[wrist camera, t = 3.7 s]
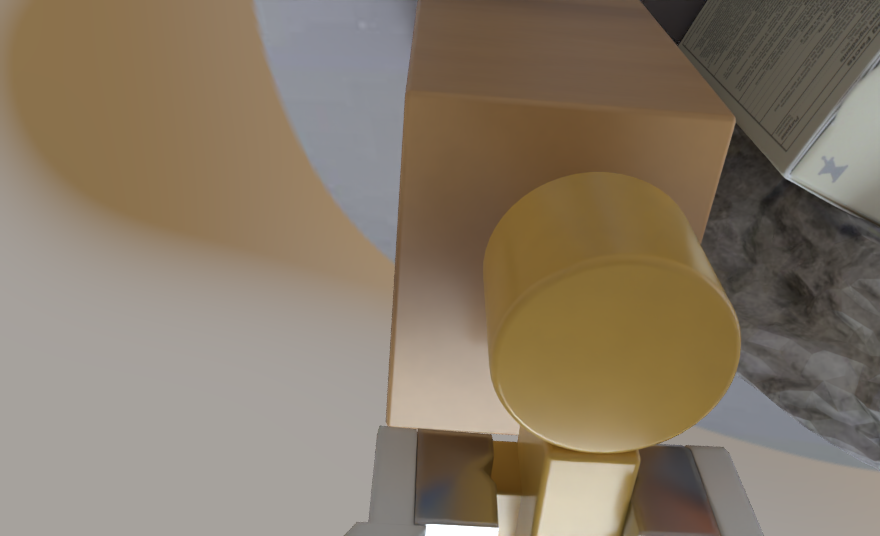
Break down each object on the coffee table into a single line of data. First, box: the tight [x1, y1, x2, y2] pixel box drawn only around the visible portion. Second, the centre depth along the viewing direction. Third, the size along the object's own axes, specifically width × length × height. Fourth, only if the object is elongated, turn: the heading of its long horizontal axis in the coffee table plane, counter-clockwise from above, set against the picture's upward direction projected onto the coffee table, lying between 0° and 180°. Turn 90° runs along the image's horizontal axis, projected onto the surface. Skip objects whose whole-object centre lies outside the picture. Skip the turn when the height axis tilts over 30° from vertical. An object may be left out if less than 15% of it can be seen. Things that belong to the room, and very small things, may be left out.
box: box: [678, 0, 880, 227], centre depth 24 cm, size 5×4×11 cm
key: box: [483, 172, 742, 536], centre depth 10 cm, size 6×3×2 cm, turn 177°
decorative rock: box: [701, 123, 880, 471], centre depth 26 cm, size 16×7×15 cm, turn 57°
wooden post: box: [386, 0, 736, 435], centre depth 21 cm, size 6×4×19 cm
